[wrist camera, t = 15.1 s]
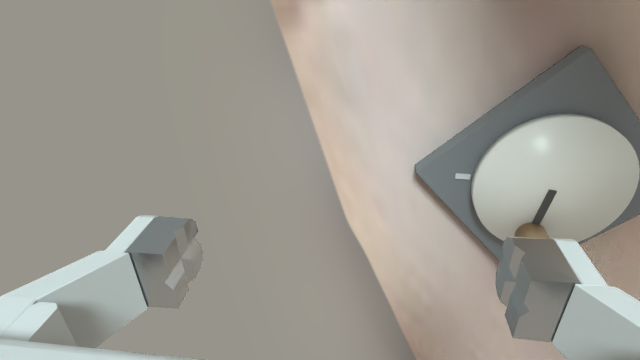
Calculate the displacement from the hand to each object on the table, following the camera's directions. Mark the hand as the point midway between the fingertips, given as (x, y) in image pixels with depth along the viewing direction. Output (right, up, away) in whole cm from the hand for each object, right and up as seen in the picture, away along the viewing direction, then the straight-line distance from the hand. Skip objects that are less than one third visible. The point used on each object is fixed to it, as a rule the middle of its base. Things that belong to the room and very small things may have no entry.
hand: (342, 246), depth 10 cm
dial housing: (+25, +3, +34) cm, 42 cm away
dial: (+24, +1, +32) cm, 41 cm away
